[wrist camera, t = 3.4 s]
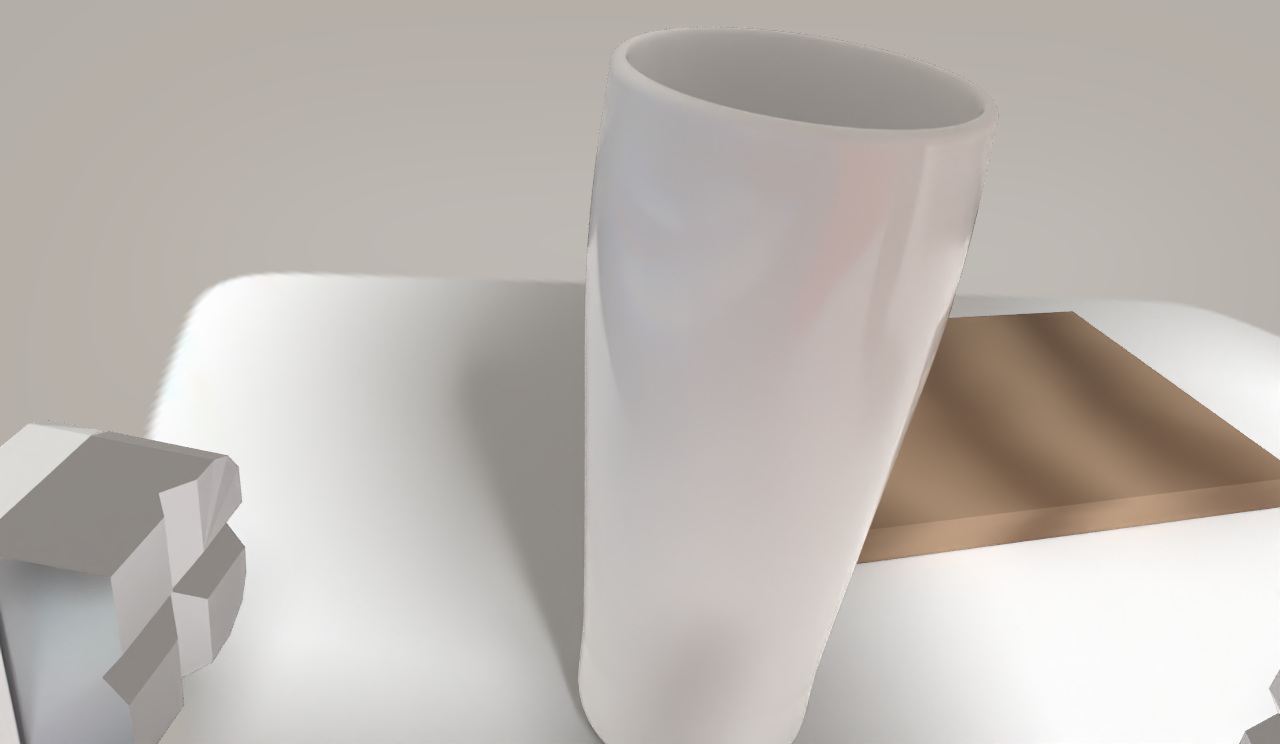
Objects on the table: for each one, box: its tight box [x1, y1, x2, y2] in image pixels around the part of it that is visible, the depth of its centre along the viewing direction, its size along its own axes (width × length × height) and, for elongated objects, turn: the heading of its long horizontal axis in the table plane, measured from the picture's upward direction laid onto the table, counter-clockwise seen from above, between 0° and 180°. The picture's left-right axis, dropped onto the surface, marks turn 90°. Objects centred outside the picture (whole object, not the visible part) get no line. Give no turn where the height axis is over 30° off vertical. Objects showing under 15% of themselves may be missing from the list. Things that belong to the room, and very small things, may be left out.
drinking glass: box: [578, 27, 999, 744], centre depth 22 cm, size 7×7×15 cm
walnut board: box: [856, 312, 1280, 564], centre depth 38 cm, size 18×12×1 cm, turn 108°
